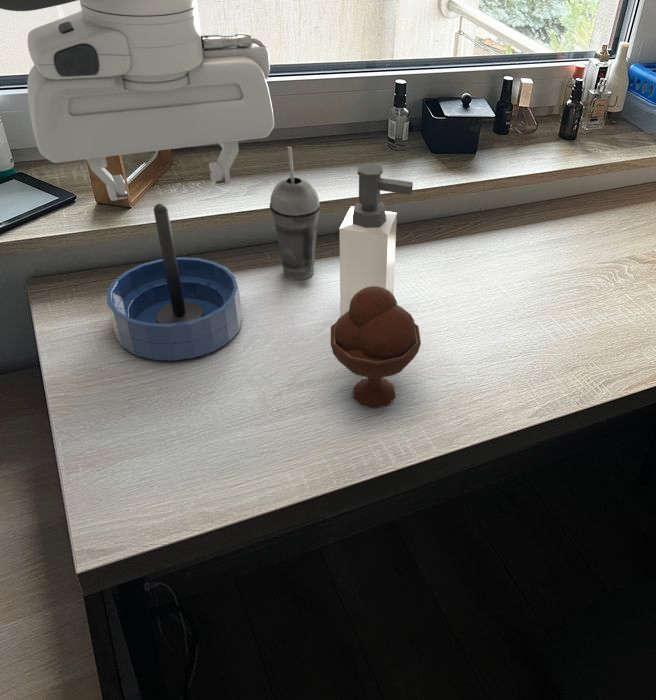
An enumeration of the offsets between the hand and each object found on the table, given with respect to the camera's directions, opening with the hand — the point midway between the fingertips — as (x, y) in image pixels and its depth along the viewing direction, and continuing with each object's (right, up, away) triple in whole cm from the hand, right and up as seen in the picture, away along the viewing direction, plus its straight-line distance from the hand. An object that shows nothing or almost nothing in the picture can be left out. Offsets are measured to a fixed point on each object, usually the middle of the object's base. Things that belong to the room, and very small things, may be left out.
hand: (171, 189), depth 69 cm
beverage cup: (+2, -3, +43) cm, 44 cm away
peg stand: (-11, -12, +30) cm, 34 cm away
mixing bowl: (-11, -12, +30) cm, 34 cm away
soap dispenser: (+15, -9, +38) cm, 42 cm away
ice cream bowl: (+16, -21, +23) cm, 36 cm away
